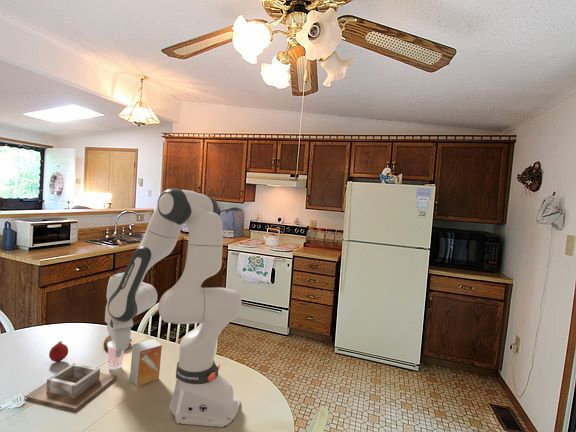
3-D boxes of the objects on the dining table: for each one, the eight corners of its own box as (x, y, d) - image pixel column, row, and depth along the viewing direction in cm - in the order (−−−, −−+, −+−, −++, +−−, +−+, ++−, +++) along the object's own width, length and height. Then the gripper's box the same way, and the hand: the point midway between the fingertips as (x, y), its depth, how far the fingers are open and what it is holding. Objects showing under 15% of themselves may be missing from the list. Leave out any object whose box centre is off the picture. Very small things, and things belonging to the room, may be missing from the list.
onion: (57, 367, 117) (58, 346, 117) (44, 364, 118) (45, 343, 118) (71, 360, 123) (72, 339, 123) (58, 356, 124) (59, 336, 124)
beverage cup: (111, 372, 116) (114, 335, 116) (102, 366, 120) (104, 329, 119) (127, 365, 122) (130, 329, 121) (118, 360, 125) (120, 325, 124)
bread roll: (118, 347, 142) (112, 330, 142) (138, 341, 141) (132, 324, 141) (102, 358, 133) (95, 340, 133) (123, 352, 131) (117, 333, 131)
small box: (136, 387, 111) (139, 351, 110) (129, 379, 115) (132, 344, 114) (159, 379, 117) (162, 344, 116) (151, 371, 121) (154, 338, 120)
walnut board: (116, 378, 115) (117, 365, 114) (75, 411, 97) (76, 395, 97) (72, 369, 118) (73, 355, 117) (24, 399, 100) (25, 383, 99)
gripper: (104, 307, 126) (101, 341, 126) (114, 327, 110) (111, 366, 110) (122, 305, 130) (119, 338, 130) (134, 324, 114) (131, 361, 114)
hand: (116, 351), depth 120 cm, fingers closed on beverage cup, 6 cm apart
